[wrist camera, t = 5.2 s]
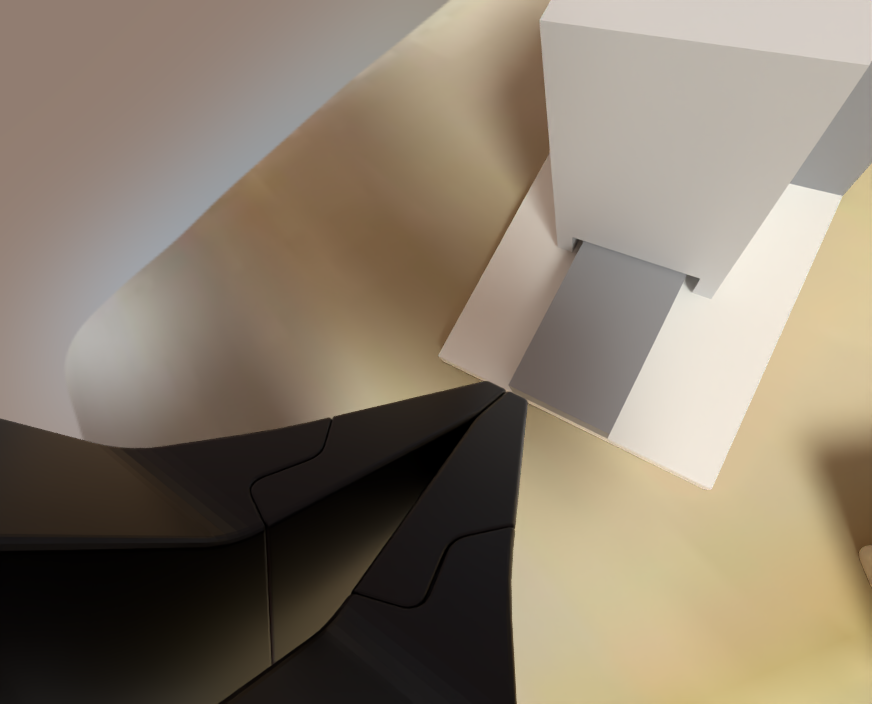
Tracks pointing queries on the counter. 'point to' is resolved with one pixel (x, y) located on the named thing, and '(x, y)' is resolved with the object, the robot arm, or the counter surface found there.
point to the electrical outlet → (866, 561)
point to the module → (689, 118)
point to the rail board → (652, 316)
